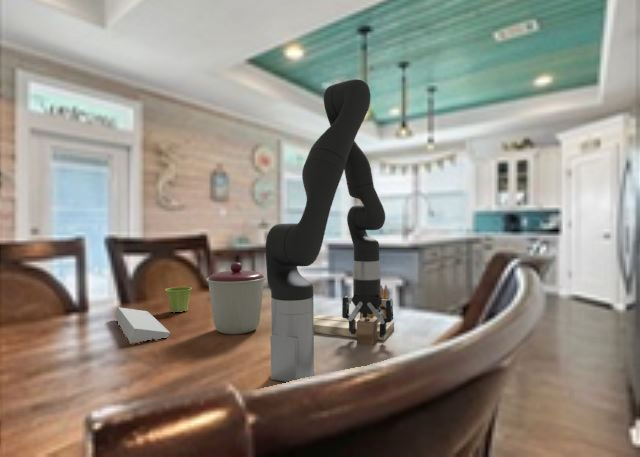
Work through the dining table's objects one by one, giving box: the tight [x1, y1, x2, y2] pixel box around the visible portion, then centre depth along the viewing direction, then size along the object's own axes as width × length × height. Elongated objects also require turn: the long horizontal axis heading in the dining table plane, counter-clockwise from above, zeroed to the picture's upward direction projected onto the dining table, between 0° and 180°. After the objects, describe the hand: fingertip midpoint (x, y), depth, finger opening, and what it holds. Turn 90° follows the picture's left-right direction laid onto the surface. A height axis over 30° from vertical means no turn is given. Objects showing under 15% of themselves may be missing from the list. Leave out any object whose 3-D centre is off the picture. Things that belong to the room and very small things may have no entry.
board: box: [314, 314, 395, 341], centre depth 126 cm, size 28×12×2 cm, turn 66°
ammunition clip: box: [359, 284, 389, 319], centre depth 135 cm, size 11×2×12 cm, turn 116°
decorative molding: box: [114, 306, 171, 344], centre depth 131 cm, size 34×5×10 cm
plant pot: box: [164, 286, 193, 313], centre depth 154 cm, size 9×9×9 cm
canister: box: [205, 262, 267, 335], centre depth 127 cm, size 18×18×21 cm
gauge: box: [356, 316, 380, 346], centre depth 117 cm, size 12×4×7 cm, turn 156°
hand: (367, 335), depth 114 cm, fingers open, 8 cm apart
